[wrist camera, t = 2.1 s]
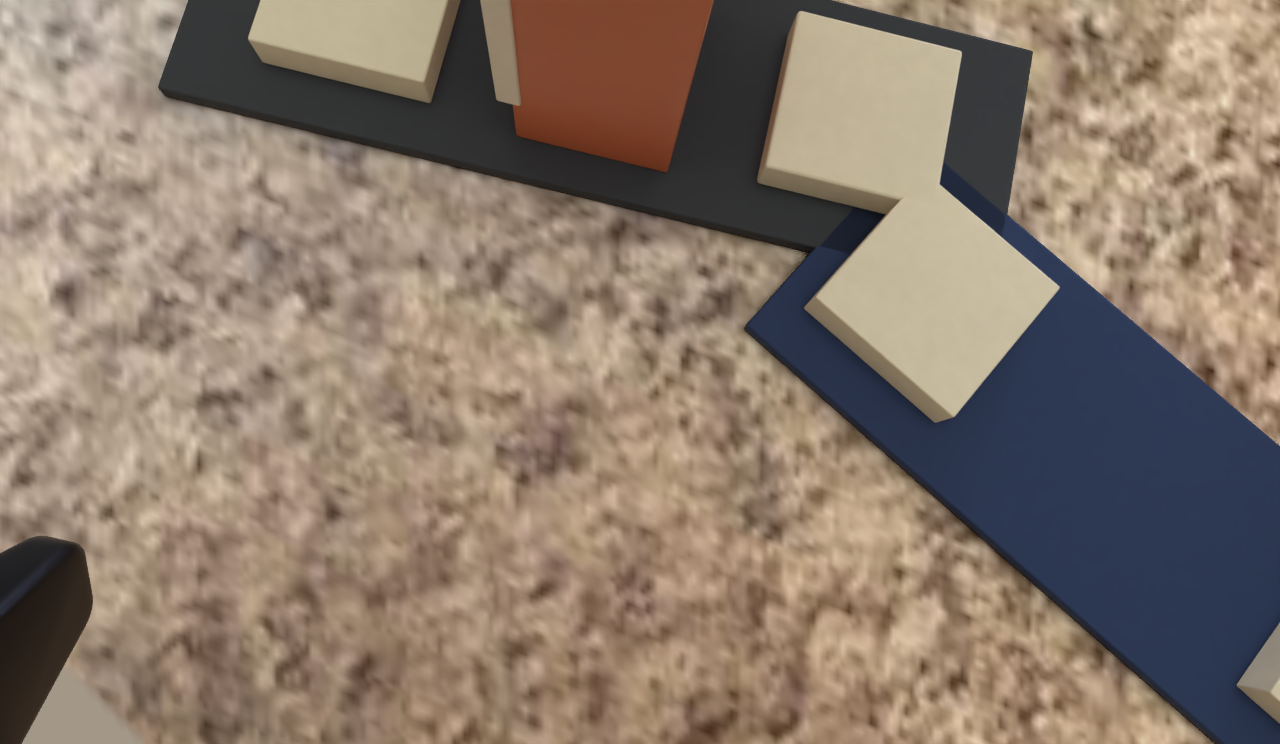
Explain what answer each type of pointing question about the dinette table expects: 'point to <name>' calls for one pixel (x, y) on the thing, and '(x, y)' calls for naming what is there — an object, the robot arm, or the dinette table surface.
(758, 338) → the blue tile board
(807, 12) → the dark grey base plate
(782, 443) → the dinette table surface
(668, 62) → the upright orange brick
